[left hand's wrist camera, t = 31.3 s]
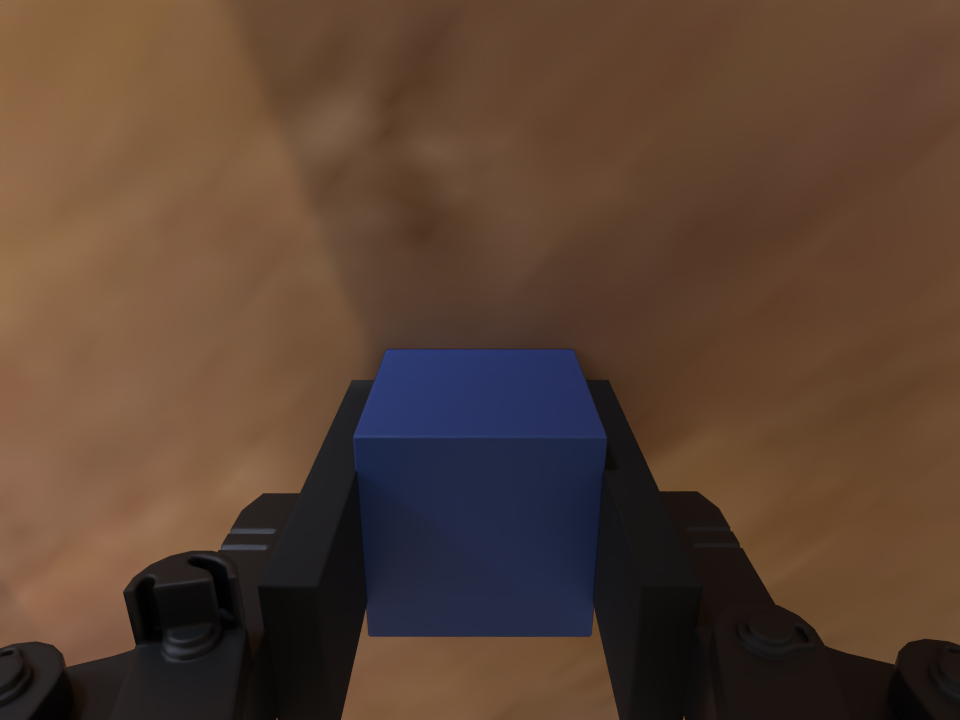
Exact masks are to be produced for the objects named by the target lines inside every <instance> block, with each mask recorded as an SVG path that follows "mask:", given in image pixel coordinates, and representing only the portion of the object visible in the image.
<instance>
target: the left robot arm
mask: <svg viewBox="0 0 960 720" xmlns="http://www.w3.org/2000/svg"><path fill="white" fill-rule="evenodd" d="M374 381H375V380H352V381H351V383H350V386H349V388H348V390H347V392H346V394H345V397H344V399H343V401H342V403H341V405H340V407H339V410H338V412H337V414H336V416H335V418H334V420H333V423H332V425H331V427H330V429H329V431H328V434H327V436H326V438H325V440H324V442H323V444H322V447H321V449H320V451H319V453H318V455H317V458H316V460H315V462H314V464H313V466H312V468H311V471H310V473H309V475H308V477H307V479H306V481H305V484H304V486H303V488H302V490H301V492H300V493H263V494H262V495H261V496H260V497H258V498H257V499H256V500H254V501H253V502H252V503H251V504H249V505H248V506H247V507H245V508H244V509H243V510H242V511H241V513H240V514H239V516H238V518H237V520H236V521H235V523H234V525H233V526H232V528H231V532H230V534H228V535H227V537H226V538H225V540H224V542H223V544H222V545H221V550H218V552H214V551H189V552H185V553H180V554H176V555H172V556H169V557H167V558H165V559H162V560H160V561H158V562H156V563H153V564H151V565H149V566H148V567H147V568H145V569H144V570H143V571H141V572H140V573H139V574H137V575H136V576H135V577H133V579H132V580H131V582H130V583H129V584H128V586H127V587H126V589H125V590H124V591H123V594H124V598H125V602H126V606H127V610H128V614H129V618H130V622H131V627H132V631H133V635H134V639H135V643H136V647H135V649H133V650H131V651H128V652H125V653H122V654H118V655H115V656H112V657H107V658H103V659H99V660H95V661H91V662H87V663H82V664H78V665H74V666H70V667H66V664H65V661H64V657H63V654H62V653H61V652H60V651H59V650H58V649H57V648H55V647H54V646H53V645H50V644H45V643H41V642H27V643H18V644H12V645H9V646H6V647H3V648H0V720H276V719H278V720H341V717H342V712H343V708H344V703H345V699H346V694H347V690H348V686H349V681H350V677H351V672H352V668H353V663H354V659H355V654H356V650H357V646H358V641H359V637H360V632H361V628H362V623H363V619H364V614H365V610H366V606H367V598H366V585H365V572H364V559H363V546H362V533H361V520H360V507H359V494H358V482H357V471H356V469H355V457H354V444H353V436H354V434H355V431H356V428H357V426H358V423H359V421H360V418H361V415H362V413H363V410H364V407H365V405H366V402H367V400H368V397H369V394H370V392H371V389H372V386H373V384H374ZM586 383H587V386H588V388H589V391H590V393H591V396H592V399H593V401H594V404H595V407H596V409H597V412H598V415H599V417H600V420H601V423H602V425H603V428H604V430H605V433H606V436H607V448H606V460H605V470H604V474H603V487H602V500H601V513H600V526H599V539H598V551H597V564H596V577H595V590H594V603H593V604H594V608H595V613H596V617H597V622H598V626H599V630H600V635H601V639H602V644H603V648H604V653H605V657H606V662H607V666H608V670H609V675H610V679H611V684H612V688H613V693H614V697H615V702H616V706H617V710H618V715H619V719H620V720H683V715H684V717H685V720H960V645H957V644H954V643H951V642H948V641H940V640H931V639H922V640H918V641H913V642H908V643H907V644H906V645H905V646H904V647H903V648H902V649H901V650H900V651H899V652H898V656H897V659H896V662H895V665H894V664H889V663H885V662H881V661H877V660H873V659H868V658H864V657H860V656H856V655H852V654H847V653H844V652H841V651H838V650H835V649H831V648H829V647H827V646H824V644H823V642H822V640H821V639H820V637H819V635H818V634H817V632H816V631H815V629H814V628H813V627H811V626H810V625H809V624H808V623H807V622H806V621H804V620H803V619H802V618H801V617H800V616H798V615H796V614H794V613H792V612H790V611H788V610H786V609H784V608H782V607H780V606H778V605H775V603H774V601H773V600H772V598H771V596H770V595H769V593H768V591H767V590H766V588H765V586H764V584H763V583H762V581H761V579H760V578H759V576H758V574H757V572H756V571H755V569H754V567H753V566H752V564H751V562H750V561H749V559H748V557H747V555H746V554H745V552H744V550H743V549H742V548H740V543H739V542H738V540H737V538H736V537H735V535H734V533H733V532H732V531H730V526H729V525H728V523H727V521H726V520H725V518H724V516H723V514H722V513H721V511H720V509H719V508H718V507H717V506H715V505H714V504H713V503H711V502H710V501H709V500H708V499H706V498H705V497H704V496H702V495H701V494H700V493H699V492H697V491H659V489H658V487H657V485H656V483H655V481H654V478H653V476H652V474H651V472H650V470H649V467H648V465H647V463H646V461H645V459H644V457H643V454H642V452H641V450H640V448H639V446H638V444H637V441H636V439H635V437H634V435H633V433H632V430H631V428H630V426H629V424H628V422H627V420H626V417H625V415H624V413H623V411H622V409H621V407H620V404H619V402H618V400H617V398H616V396H615V393H614V391H613V389H612V387H611V385H610V383H609V380H586Z"/></svg>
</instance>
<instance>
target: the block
mask: <svg viewBox="0 0 960 720" xmlns="http://www.w3.org/2000/svg"><path fill="white" fill-rule="evenodd" d="M353 444H354V457H355V469H356V471H357V482H358V494H359V507H360V520H361V533H362V546H363V559H364V572H365V585H366V598H367V606H366V611H367V624H368V634H369V636H371V637H590V636H591V635H592V626H593V613H594V604H593V603H594V590H595V577H596V564H597V551H598V539H599V526H600V513H601V500H602V487H603V474H604V470H605V460H606V448H607V436H606V433H605V430H604V428H603V425H602V423H601V420H600V417H599V415H598V412H597V409H596V407H595V404H594V401H593V399H592V396H591V393H590V391H589V388H588V386H587V383H586V380H585V378H584V375H583V372H582V370H581V367H580V364H579V362H578V359H577V357H576V354H575V351H574V350H572V349H388V350H386V352H385V355H384V357H383V360H382V363H381V365H380V368H379V371H378V373H377V376H376V378H375V381H374V384H373V386H372V389H371V392H370V394H369V397H368V400H367V402H366V405H365V407H364V410H363V413H362V415H361V418H360V421H359V423H358V426H357V428H356V431H355V434H354V436H353Z"/></svg>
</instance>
